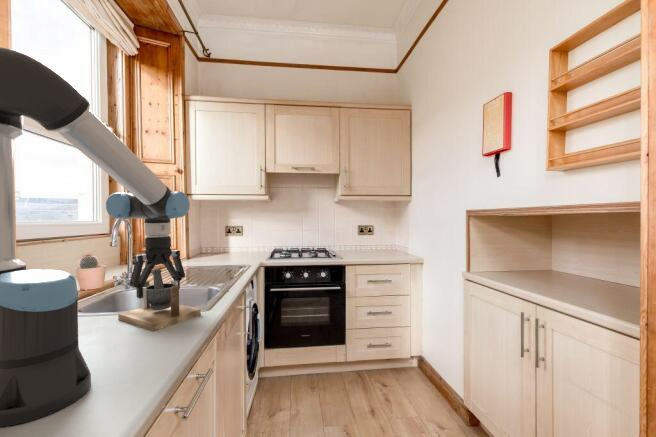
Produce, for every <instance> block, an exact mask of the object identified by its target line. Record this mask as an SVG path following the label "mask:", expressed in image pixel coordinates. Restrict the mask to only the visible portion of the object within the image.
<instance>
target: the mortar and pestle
mask: <svg viewBox="0 0 656 437" xmlns="http://www.w3.org/2000/svg"><path fill="white" fill-rule="evenodd" d="M151 272H152V275H153V277H152V278H153V284H150V286H147V287H146V296H147V301H148V302H149V303H150V309H151V310H163V309H167V308H170V307H171V291H170V288H171V287H174V286H177V285H176V284H175V283H171V282H170V283H169V282H165V283H164V282H163V277H162V270H161V269H157V268H156V269H152V271H151Z"/></svg>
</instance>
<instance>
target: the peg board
mask: <svg viewBox="0 0 656 437" xmlns="http://www.w3.org/2000/svg"><path fill="white" fill-rule="evenodd" d="M150 285H151V284H150V280H147V281H146V283H145V285H144V287H147V286H150ZM170 291H171V307H170V308H167V309H163V310H151V309H150V305H151V304H150V303H149V302H148V301H147V308H146V309H143V308H140V307H138V308H135V309H130V310H127V311H123V312H119V313H117V314H118V315H117V317H118V321H121V322H124V323H127V324H129V325H133V326H137V327H139V328H142V329H144V330H148V331H151V332H155V331H157V330H161V329H163V328H167V327H169V326H173V325H176V324H179V323H181V322H184V321H188V320H191V319H194V318H196V317H199V316H201V313H202V311H201V309H200V308H197V307H194V306H193V307H192V306H189V305H185V304H180V289H179V286H174V287H171V288H170Z"/></svg>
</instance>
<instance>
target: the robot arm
mask: <svg viewBox="0 0 656 437" xmlns="http://www.w3.org/2000/svg"><path fill="white" fill-rule="evenodd" d="M24 117H26V118H29V119H31V120H32V121H34V122H36V123H38V124H39V125H40V126H41V127H42V128H44V129H45V130H46V131H48V132H56V133H58V134H59V135H61V136H62V137H63V138H64V139H65V140H67V141H68V142H69V143H71V145H73V146H74V148H76V149H77V150H79V152H81V153H82V154H83V155H84V156H85V157H87V158H88V159H89V160H91V162H92V163H93V164H95V165H97V166H98V167H99V168H100V169H101V170H103V172H105V173H106V174H107V175H108V176H109V177H111V178H112V179H113V180H115V181H116V182H117V183H118V184H119V185H120V186H122V187H123V188H124V189H125V190H126V191H128V192H114V193H111V194H110V195H109V196H108V197H107V199H106V202H105V209H106V213H108V214H107V215H109V217H111V218H112V219H118V220H128V219H129V220H132V219H133V220H134V219H135V220H136V219H139V220H140V219H144V236H146V237H145V238H144V249H145V252H144V253H142V254H135V255H134V266H133V270H132V272H131V273H132V274H131V278H130V281H129V287H132V288H135V289H136V298H137V299H139V308H143V309H146V308H147V296H146V287H144V285H145V283H146V281H148V279H149V277H150V274H151V272H152V271H153V270H154V268H155V267H156V266H158V265H163V266H164V267H165V269H166V270H167V272H168V273H169V275H170V276H171V278H172V280H170V283H175V284H176V285H177V286H179V290H180V288H181V287H180V286H181V285H180V284H181V281H182V279H183V278H185V277H186V274H185V271H184V270H185V269H184V267H183V262H182V260H181V251H180V250H175V249H174V250H172V249H171V247H172V237H171V236H170V235H171V234H172V232H171V231H172V230H171V226H172V225H171V224H172V223H171V220H172V219H175V218H176V219H177V218H179V219H180V218H183V217H185V216H186V215H187V214H188V212H189V210H190V207H191V206H190V199H189V197H188V195H187V194H186V193H184V192H182V191H178V190H173V191H172V190H171V189H170V188H169V187H168V186H167V185H166V184H165V183H164V182H163V181H162V180H161V179H160V178H159V177H158V176H157V175H156V174H155V173H154V172H153V171H152V170H151V169H150V168H149V167H148V166H147V165H146V164H145V163H144V162H143V161H142V160H141V159H140V158H139V157H138V156H137V155H136V154H135V153H134V152H133V151H132V150H131V149H130V148H129V147H128V146H127V145H126V144H125V143H124V142H123V141H122V140H121V138H119V137H118V136H117V135H116V134H115V133H114V132H113V131H112V130H111V129H110V128H109V127H108V126H107V125H106V124H105V123H104V122H103V121H102V120H101V119H100V118H99V117H97V115H96V114H95V113H94V112H93V111H92V110H91V102H89V100H88V99H87V98H86V97H85V96H84V95H83V94H82V93H81V92H80V91H78V89H77V88H76V87H75V86H74V85H73V84H71V83H70V82H69V81H68V80H67V79H66V78H64V77H63V76H62V75H60V74H59V73H58V72H56V71H55V70H53V69H52V68H51V67H50V66H48V65H47V64H45V63H43V62H41V61H40V60H38V59H36V58H34V57H33V56H30V55H28V54H26V53H24V52H22V51H18V50H15V49H11V48H7V47H1V46H0V427H8V426H9V427H10V426H14V425H19V424H23V423H27V422H30V421H31V422H32V421H33V420H37V419H41V418H43V417H45V416H49V415H51V414H53V413H56V412H58V411H60V410H62V409H64V408H66V407H67V406H70V405H72V404H73V403H75V402H76V401H78V400H80V399H81V398H83V396H84V395H85V394H86V393H88V391H89V390H90V389H91V386H92V376H91V375H92V374H91V370H90V369H89V367H88V364H87V363H86V361H85V358H84V356H83V354H82V352H81V350H80V347H79V346H80V345H79V313H78V312H79V306H78V304H79V303H78V302H79V301H78V298H79V291H78V284H77V280H76V278H75V276H74V275H73V274H71V273H70V272H68V271H63V270H58V269H39V268H38V269H27V263H26V262H24V261H22V260H21V259H19V258H18V257H17V255H16V218H15V217H16V216H15V173H14V169H15V168H14V166H15V164H14V163H15V162H14V140H16V139H17V138H19V137H21V136H22V135H23V134H24ZM170 257H172V260H171V258H170ZM145 260H147V261H146V262H145V264H144V261H145ZM172 261H173V262H172ZM143 266H144V268H143ZM142 269H143V270H142Z"/></svg>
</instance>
